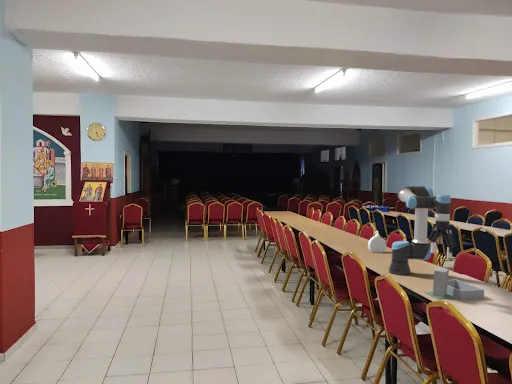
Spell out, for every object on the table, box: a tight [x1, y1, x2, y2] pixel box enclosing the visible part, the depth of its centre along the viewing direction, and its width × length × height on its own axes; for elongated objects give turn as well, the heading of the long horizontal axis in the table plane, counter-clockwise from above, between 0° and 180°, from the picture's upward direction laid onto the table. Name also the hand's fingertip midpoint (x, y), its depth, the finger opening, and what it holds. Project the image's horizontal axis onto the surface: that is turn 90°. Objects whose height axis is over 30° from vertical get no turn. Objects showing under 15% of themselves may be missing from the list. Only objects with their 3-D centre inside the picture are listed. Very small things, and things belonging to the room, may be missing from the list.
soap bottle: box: [367, 230, 387, 254], centre depth 344 cm, size 16×5×20 cm, turn 94°
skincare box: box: [432, 266, 450, 297], centre depth 220 cm, size 8×7×16 cm
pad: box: [424, 291, 456, 300], centre depth 220 cm, size 12×12×1 cm
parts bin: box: [447, 278, 485, 301], centre depth 225 cm, size 22×16×5 cm
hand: (441, 255), depth 219 cm, fingers open, 13 cm apart
